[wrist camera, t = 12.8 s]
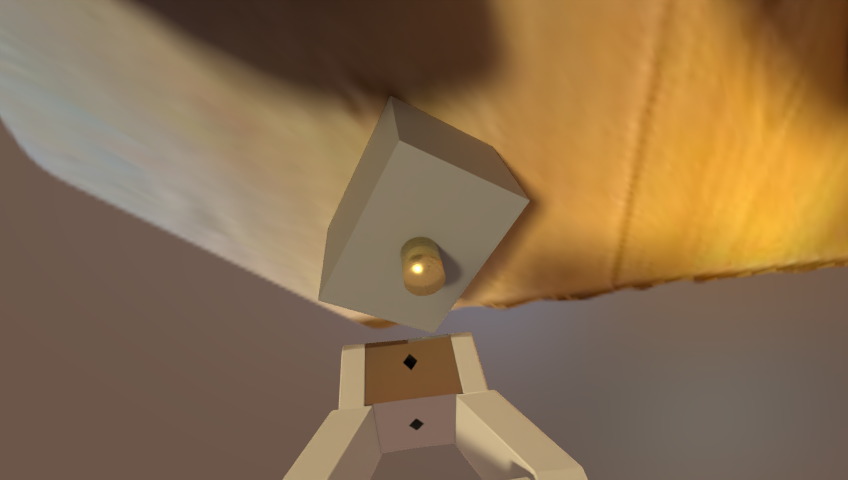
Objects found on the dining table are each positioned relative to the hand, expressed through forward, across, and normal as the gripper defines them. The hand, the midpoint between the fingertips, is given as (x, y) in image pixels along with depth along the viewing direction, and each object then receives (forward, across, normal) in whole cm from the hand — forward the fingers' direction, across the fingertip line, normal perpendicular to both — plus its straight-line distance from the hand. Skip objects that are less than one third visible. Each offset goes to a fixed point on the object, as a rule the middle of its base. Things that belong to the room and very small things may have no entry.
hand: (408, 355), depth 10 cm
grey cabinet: (+37, -2, +15) cm, 40 cm away
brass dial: (+24, -2, +15) cm, 28 cm away
